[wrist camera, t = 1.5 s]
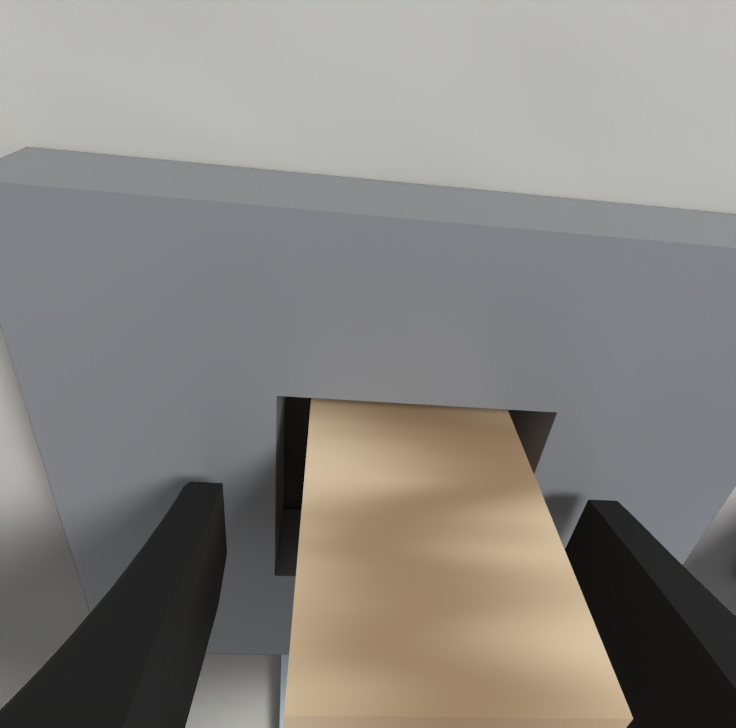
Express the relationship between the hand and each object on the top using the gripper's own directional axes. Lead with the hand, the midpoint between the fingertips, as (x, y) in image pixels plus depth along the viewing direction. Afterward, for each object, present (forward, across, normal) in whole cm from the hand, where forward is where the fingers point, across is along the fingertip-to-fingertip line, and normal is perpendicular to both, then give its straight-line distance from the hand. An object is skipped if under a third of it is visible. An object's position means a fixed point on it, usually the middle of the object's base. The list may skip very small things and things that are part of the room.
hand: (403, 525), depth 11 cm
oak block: (+3, 0, 0) cm, 3 cm away
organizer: (+3, 0, 0) cm, 3 cm away
